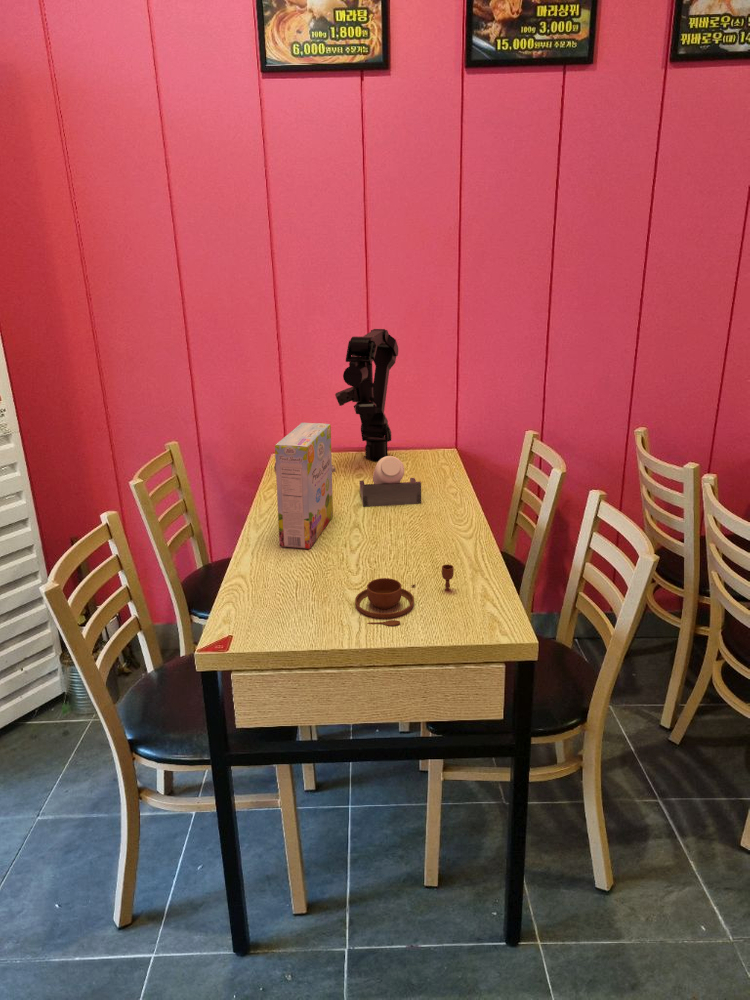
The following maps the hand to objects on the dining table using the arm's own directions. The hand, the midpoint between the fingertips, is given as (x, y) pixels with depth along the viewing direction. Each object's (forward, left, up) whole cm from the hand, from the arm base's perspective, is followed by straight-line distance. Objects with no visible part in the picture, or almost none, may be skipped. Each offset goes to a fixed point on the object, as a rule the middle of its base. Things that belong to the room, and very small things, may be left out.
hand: (364, 429), depth 228 cm
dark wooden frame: (+8, +24, -13) cm, 28 cm away
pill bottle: (+5, +18, -10) cm, 21 cm away
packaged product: (+15, -13, -14) cm, 24 cm away
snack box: (+39, +31, -13) cm, 52 cm away
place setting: (+43, +76, -14) cm, 88 cm away
